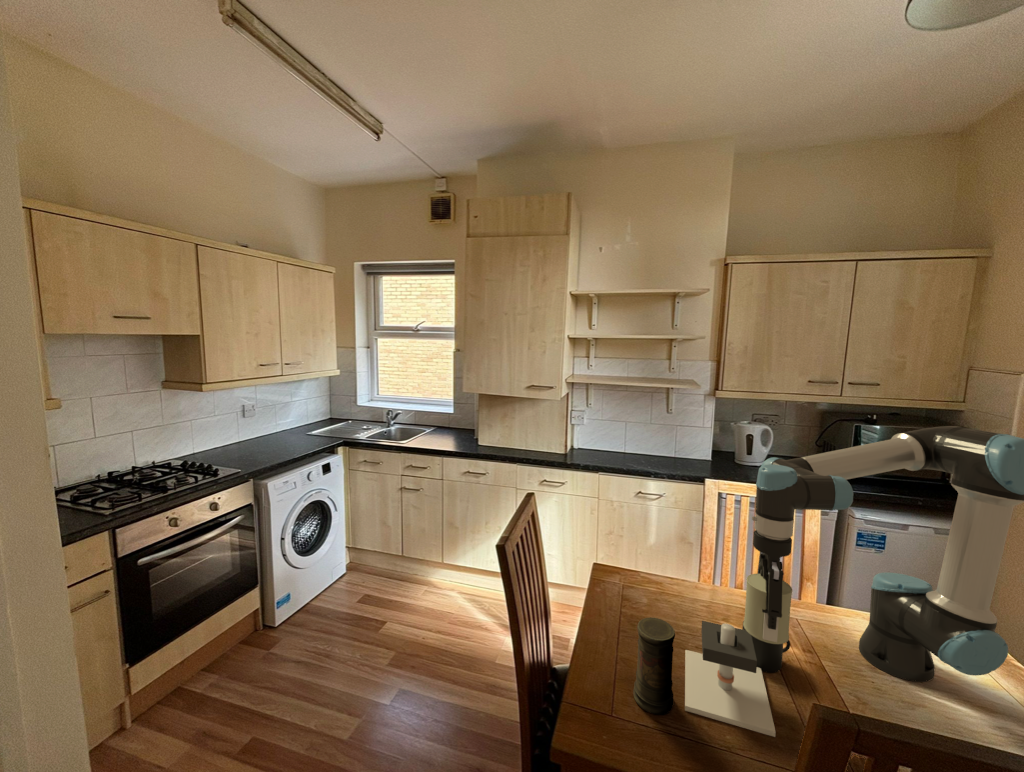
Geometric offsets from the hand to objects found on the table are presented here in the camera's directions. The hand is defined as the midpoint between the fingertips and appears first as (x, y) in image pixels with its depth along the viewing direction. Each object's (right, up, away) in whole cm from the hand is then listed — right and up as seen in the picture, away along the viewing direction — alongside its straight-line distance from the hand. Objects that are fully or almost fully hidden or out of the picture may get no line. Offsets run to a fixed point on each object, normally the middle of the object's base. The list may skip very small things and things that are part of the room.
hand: (766, 627), depth 101 cm
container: (-26, -18, +2) cm, 32 cm away
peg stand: (-7, -18, +5) cm, 20 cm away
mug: (+9, -17, +15) cm, 25 cm away
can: (0, -1, 0) cm, 1 cm away
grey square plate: (-7, -8, +4) cm, 11 cm away
